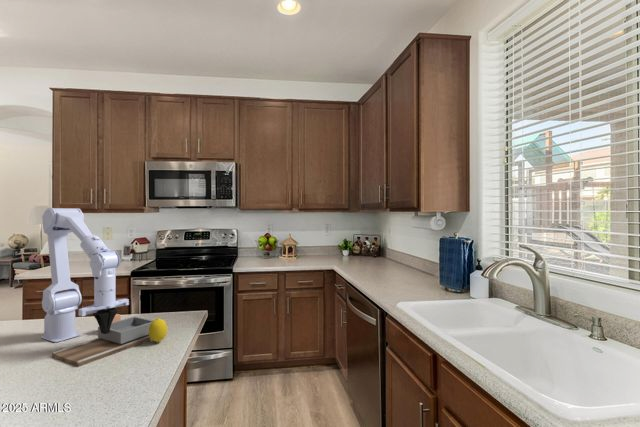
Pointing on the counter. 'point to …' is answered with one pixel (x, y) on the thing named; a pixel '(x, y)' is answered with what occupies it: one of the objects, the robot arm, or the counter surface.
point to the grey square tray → (127, 330)
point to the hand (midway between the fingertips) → (105, 333)
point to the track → (94, 350)
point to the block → (116, 318)
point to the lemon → (157, 330)
